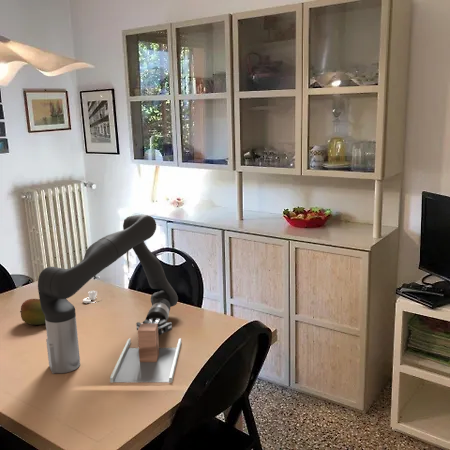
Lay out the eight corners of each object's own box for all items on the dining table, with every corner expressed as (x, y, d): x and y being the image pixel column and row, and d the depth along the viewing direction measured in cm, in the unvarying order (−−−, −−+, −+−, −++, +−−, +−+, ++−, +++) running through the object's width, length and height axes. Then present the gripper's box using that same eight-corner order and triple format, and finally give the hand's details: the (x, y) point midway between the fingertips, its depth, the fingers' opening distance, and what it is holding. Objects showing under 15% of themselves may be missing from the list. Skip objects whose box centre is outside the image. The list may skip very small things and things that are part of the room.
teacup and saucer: (84, 305, 213) (84, 296, 212) (79, 300, 219) (78, 291, 218) (104, 301, 217) (104, 292, 216) (98, 295, 224) (97, 287, 223)
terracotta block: (156, 362, 162) (155, 330, 159) (139, 362, 162) (137, 330, 159) (159, 353, 167) (157, 323, 165) (142, 354, 167) (140, 323, 165)
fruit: (21, 320, 198) (18, 296, 196) (54, 314, 203) (52, 291, 201) (22, 332, 188) (19, 307, 186) (57, 325, 193) (54, 301, 190)
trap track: (172, 385, 150) (171, 377, 150) (110, 385, 151) (109, 377, 150) (181, 344, 175) (181, 338, 175) (128, 345, 176) (128, 338, 175)
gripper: (139, 306, 182) (129, 327, 165) (175, 306, 182) (169, 326, 165) (140, 325, 184) (130, 347, 167) (176, 325, 183) (170, 347, 167)
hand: (149, 337), depth 166 cm, fingers closed
